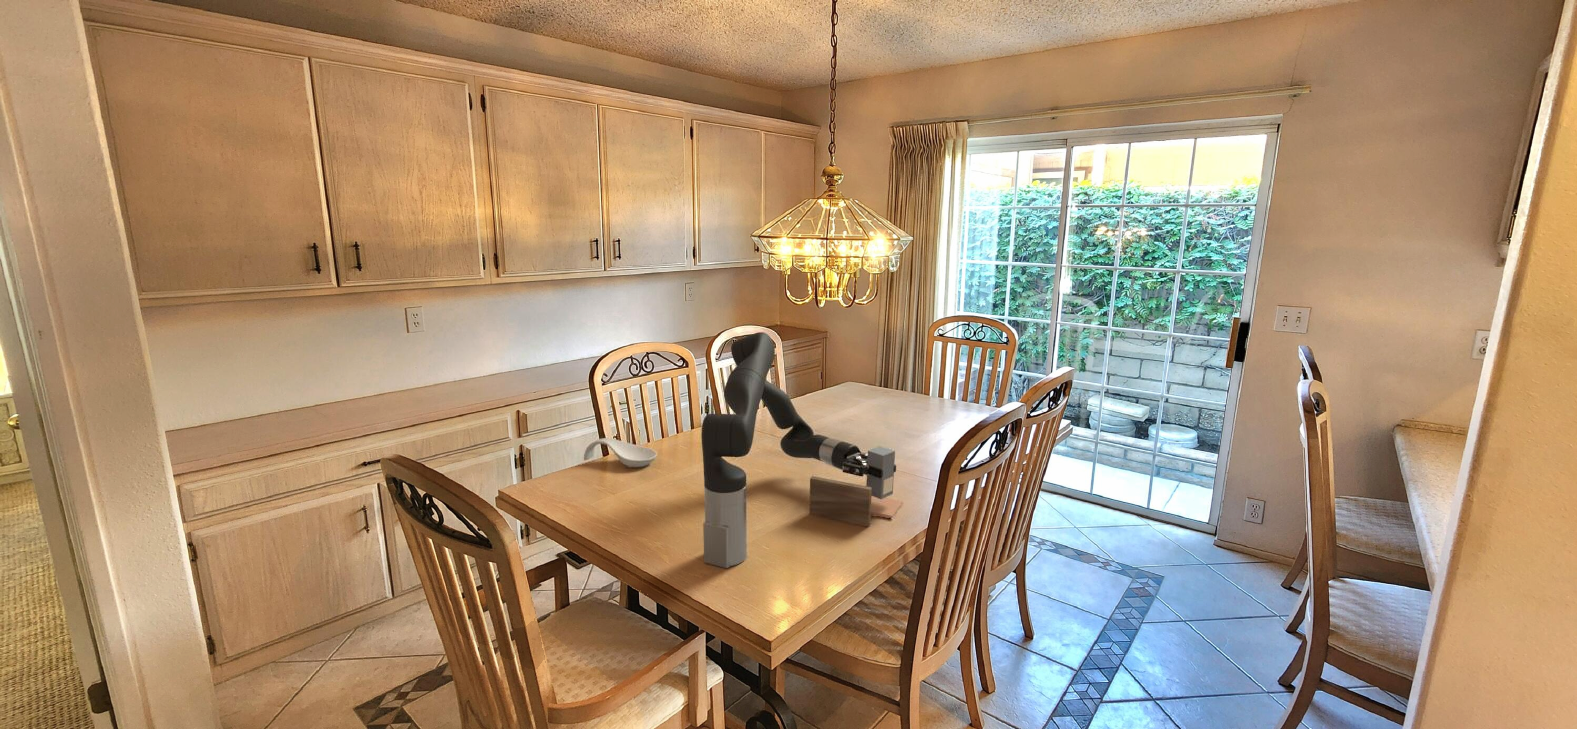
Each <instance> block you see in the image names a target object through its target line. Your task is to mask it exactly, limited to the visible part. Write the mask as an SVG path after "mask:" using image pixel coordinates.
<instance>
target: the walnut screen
mask: <svg viewBox="0 0 1577 729" xmlns="http://www.w3.org/2000/svg"><path fill="white" fill-rule="evenodd" d="M871 495H872V487H867V486H865V485H861V484H856V483H851V482H845V481H839V480H835V479H831V478H825V477H819V476H813V475H812V476H810V478H809V512H808V513H809V515H810V516H814V517H815V516H816V517H820V518H824V519H830V520H832V521H833V520H834V521H839V522H842V521H844V522H843V523H847V522H848V524H851V525H852V524H853V525H856V524H857V526H861V525H862V527H865V526H868V527H867V528H869V527H870V526H871V520H872V519H871V518H872V517H871V516H872V515H871ZM869 525H870V526H869Z"/></svg>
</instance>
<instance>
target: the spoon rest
mask: <svg viewBox="0 0 1577 729" xmlns="http://www.w3.org/2000/svg"><path fill="white" fill-rule="evenodd" d="M597 445H606V446H608V448H609V449H611V451H612V452H613V454H614V455H615V456H616V458H618V460H619V461H620V462H621V463H622V464H623V465H625V466H626V467H628V468H632V467H633V469H635V468H634V467H638V468H642V467H645V466H648V465H650V464H651V463H653V461H654V460H655V459H656V458H657V457H658V456H657V455H658V452H657V451H656V450H654V449H652V448H650V447H647V446H642V445H637V444H633V443H629V442H625V441H623V440H622V441H621V440H619V439H613V438H608V437H603V438H598V439H597V440H595V441H594V442H591V443H589V444H588V446H587V447H586V449H585V451H584V454H583V461H589V460H590V459H591V458H593V457H594V453H595V447H596V446H597Z"/></svg>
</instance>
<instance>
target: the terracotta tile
mask: <svg viewBox="0 0 1577 729" xmlns="http://www.w3.org/2000/svg"><path fill="white" fill-rule="evenodd" d="M902 504H904V501H903V500H900V499H899V500H898V499H893V498H889V497H885V498H883V499H879V498H876V497H874V496H871V516H872V515H876V516H875V517H877V516H881V517H880V518H882V517H887V518H893V519H894V517H895V516H896V515H897V513H898V512H897V511H898V509H899V508H900V507H901V508H902V506H903V505H902ZM901 505H902V506H901ZM901 508H900V509H901ZM900 509H899V510H900ZM896 512H897V513H896ZM895 514H896V515H895ZM894 515H895V516H894ZM893 516H894V517H893ZM887 518H886V519H887Z"/></svg>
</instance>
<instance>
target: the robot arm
mask: <svg viewBox="0 0 1577 729" xmlns="http://www.w3.org/2000/svg"><path fill="white" fill-rule="evenodd" d="M730 346H731V347H730V352H731V356H732V359H733V361H734V364H735V365H736V366H735V367H734V369H733V370H732V371H731V372H730V374H729V376H728V378H727V380H726V383H725V386H724V390H723V396H724V399H725V402H726V404H727V405H728V407H729V409H730V410H731V411H732V412H733V413H709V414H707V415H705V417H704V418H703V420H702V424H701V449H702V460H703V461H702V462H703V464H702V465H703V480H704V481H703V482H704V483H703V484H704V486H703V490H704V491H703V492H704V522H703V523H702V526H703V527H702V530H703V532H702V533H703V536H702V538H703V562H704V563H706V564H709V565H712V566H717V567H721V568H723V569H729V568H730V567H732V566H736V565H739V564H741V563H742V562H744V561H745V560H746V559H747V556H748V555H747V553H748V551H747V549H748V544H747V542H748V541H747V537H748V536H747V534H748V533H747V527H748V526H747V473H746V472H745V470H744V469H742V468H741V467H739V466H737V465H734V464H733V463H730V462H729V461H727V460H726V459H724V458H743V457H745V456H747V455H748V454H749V452H750V451H751V449H752V446H753V441H754V434H755V428H756V419H757V413H758V410H759V408H760V407H759V406H760V403H761V401H762V402H763V403H764V406H765V407H766V409H767V411H768V412H769V414H770V417H771V418H772V420H773V422H774V424H775V425H776V427H777V428H778V429H780V430H787V429H790V430H788V432H787V433H786V434H785V435H784V436H783V437H782V438H781V439H780V441H779V442H780V444H779V445H780V448H781V450H782V452H784V453H785V454H786V455H787V456H789V457H792V458H796V459H814V460H816V461H819V462H822V463H824V464H826V465H828V466H831V467H834V468H835V469H839V470H842V473H843V474H845V473H846V474H848V475H849V474H850V475H852V476H857V477H864V475H865V476H867V475H872V476H874V477H877V478H882V477H883V470H881V469H878V468H875V467H872V466H871V467H870V465H868V464H867V459H868V454H867V453H868V452H862V451H861V450H860V448H859V447H858V445H855V444H852V443H850V442H846V441H844V440H840V439H838V438H831V437H829V436H826V435H821V434H815V433H814V430H813V429H812V427H811V426H810V425H809V424H808V423H807V422H806V421H805V420H804V419H803V418H802V417H801V415H800V414H799V413H798V412H797V410H796V407H795V406H794V404H793V402H792V401H791V399H790V396H789V395H788V394H787V393H786V392H785V391H784V390H782V389H781V388H779V387H778V386H776V385H775V384H773V383H771V382H770V381H768V380H767V377H768V374H769V371H770V369H771V367H772V366H773V363H774V360H775V357H776V356H775V355H776V352H775V351H776V348H775V345H774V341H773V339H772V338H771V336H770V335H769V334H768V333H766V332H764V331H763V332H762V331H761V332H755V333H752V334H749V335H747V336H744V337H741V338H738V339H737V340H734V341H733V342H732V344H731V345H730ZM896 471H897V465H896V463H894V473H896Z"/></svg>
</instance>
